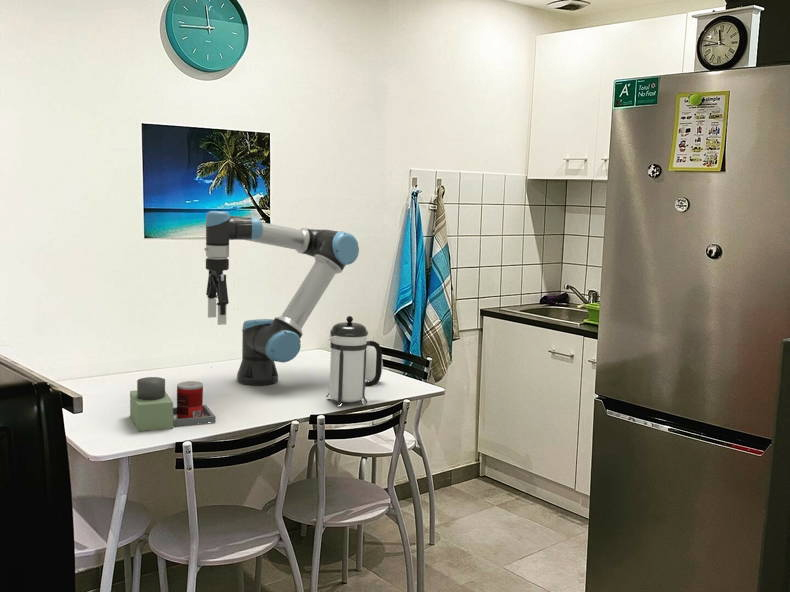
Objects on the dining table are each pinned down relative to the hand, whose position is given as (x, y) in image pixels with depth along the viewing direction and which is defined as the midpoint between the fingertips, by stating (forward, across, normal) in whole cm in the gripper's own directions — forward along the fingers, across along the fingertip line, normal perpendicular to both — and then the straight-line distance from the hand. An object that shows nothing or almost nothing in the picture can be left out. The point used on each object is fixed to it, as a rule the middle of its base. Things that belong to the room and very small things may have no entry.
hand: (216, 320), depth 259 cm
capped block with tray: (+26, +21, -18) cm, 38 cm away
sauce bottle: (+27, -3, +60) cm, 66 cm away
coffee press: (+27, +18, +42) cm, 53 cm away
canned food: (+27, +21, -13) cm, 36 cm away
